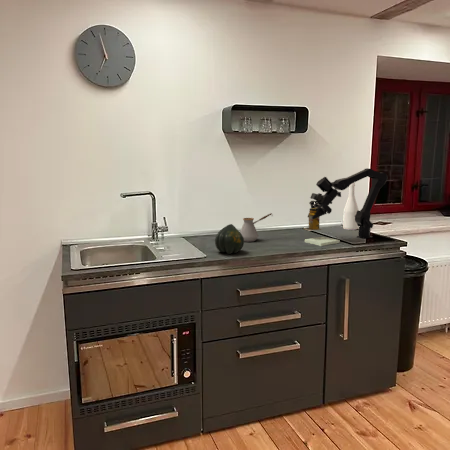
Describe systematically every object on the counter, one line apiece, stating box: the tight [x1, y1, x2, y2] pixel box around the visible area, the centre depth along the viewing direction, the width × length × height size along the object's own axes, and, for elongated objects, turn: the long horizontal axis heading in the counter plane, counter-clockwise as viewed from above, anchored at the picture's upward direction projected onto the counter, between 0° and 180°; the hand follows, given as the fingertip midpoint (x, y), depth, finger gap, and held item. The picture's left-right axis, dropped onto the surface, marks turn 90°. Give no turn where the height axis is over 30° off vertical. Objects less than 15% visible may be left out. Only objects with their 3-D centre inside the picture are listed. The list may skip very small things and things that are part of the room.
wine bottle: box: [342, 182, 360, 231], centre depth 284 cm, size 10×10×30 cm
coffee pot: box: [239, 212, 274, 243], centre depth 255 cm, size 21×12×15 cm, turn 112°
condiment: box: [302, 207, 323, 231], centre depth 249 cm, size 7×8×12 cm
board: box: [304, 236, 341, 247], centre depth 245 cm, size 14×13×2 cm
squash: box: [214, 223, 245, 255], centre depth 225 cm, size 14×15×15 cm
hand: (310, 217), depth 248 cm, fingers closed on condiment, 6 cm apart
